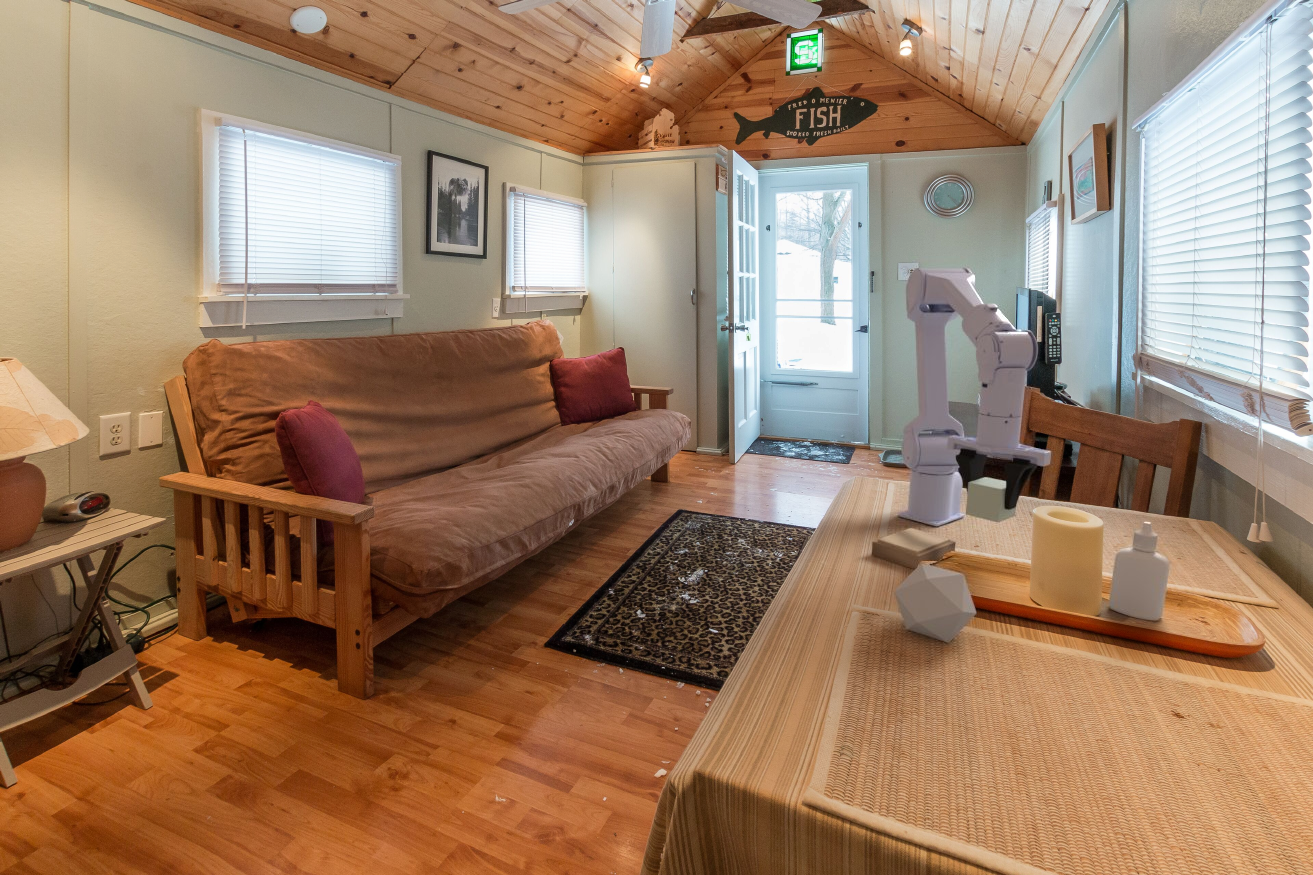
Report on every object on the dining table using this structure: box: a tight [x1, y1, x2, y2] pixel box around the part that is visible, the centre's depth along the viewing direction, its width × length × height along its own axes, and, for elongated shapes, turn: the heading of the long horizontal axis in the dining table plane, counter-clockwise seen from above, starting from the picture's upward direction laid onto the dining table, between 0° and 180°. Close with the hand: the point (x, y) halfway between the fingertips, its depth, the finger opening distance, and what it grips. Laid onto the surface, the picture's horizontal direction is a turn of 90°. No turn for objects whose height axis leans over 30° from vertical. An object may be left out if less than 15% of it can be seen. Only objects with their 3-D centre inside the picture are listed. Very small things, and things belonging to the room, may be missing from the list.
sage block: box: [965, 476, 1017, 523], centre depth 107 cm, size 5×5×5 cm
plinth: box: [871, 527, 956, 570], centre depth 111 cm, size 10×8×3 cm
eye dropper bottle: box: [1108, 521, 1171, 622], centre depth 90 cm, size 4×6×12 cm
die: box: [893, 563, 977, 644], centre depth 85 cm, size 8×9×10 cm
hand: (991, 503), depth 107 cm, fingers closed on sage block, 5 cm apart
